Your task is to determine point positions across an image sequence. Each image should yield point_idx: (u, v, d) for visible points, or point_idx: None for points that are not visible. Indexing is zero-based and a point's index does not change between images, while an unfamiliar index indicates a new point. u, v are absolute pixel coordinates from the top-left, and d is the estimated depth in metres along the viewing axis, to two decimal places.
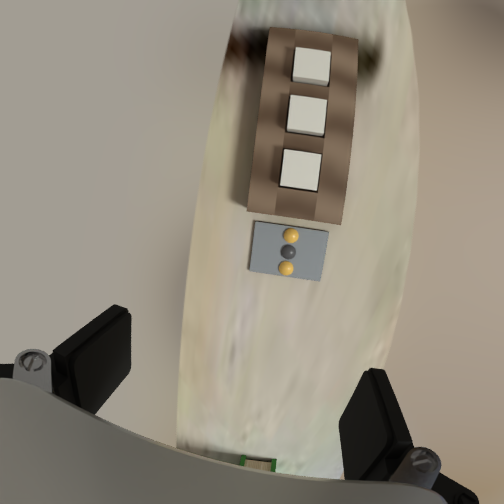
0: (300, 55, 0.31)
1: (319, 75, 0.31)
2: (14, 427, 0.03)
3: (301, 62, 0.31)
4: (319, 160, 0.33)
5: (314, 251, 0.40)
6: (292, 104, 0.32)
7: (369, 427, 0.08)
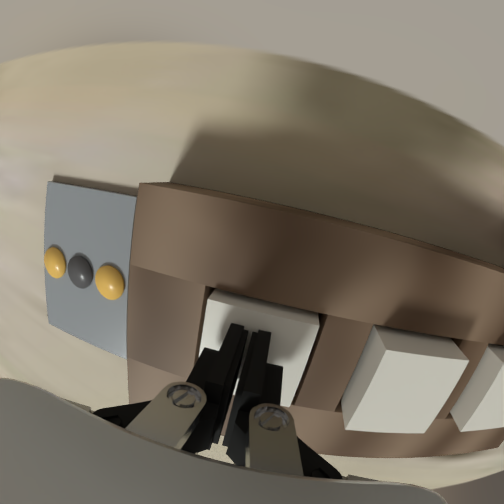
0: None
1: (479, 415, 0.10)
2: (14, 427, 0.03)
3: None
4: None
5: (89, 324, 0.17)
6: (445, 364, 0.10)
7: None
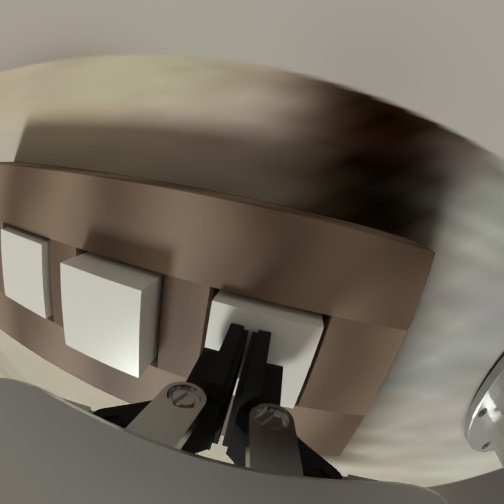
0: (288, 334, 0.11)
1: None
2: (14, 427, 0.03)
3: None
4: (37, 312, 0.14)
5: None
6: (114, 289, 0.11)
7: None
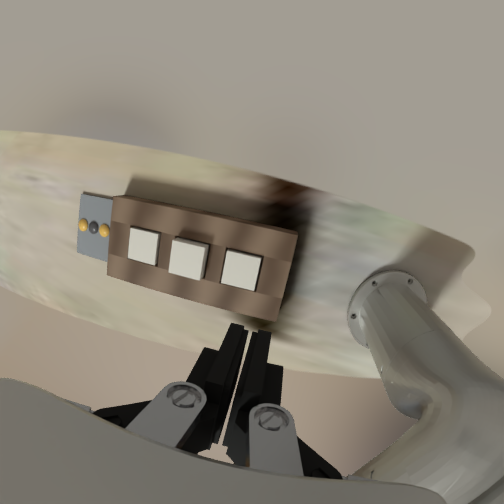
0: (250, 261, 0.38)
1: (227, 275, 0.38)
2: (14, 427, 0.03)
3: (242, 261, 0.38)
4: (149, 263, 0.40)
5: (95, 249, 0.44)
6: (195, 248, 0.37)
7: None
